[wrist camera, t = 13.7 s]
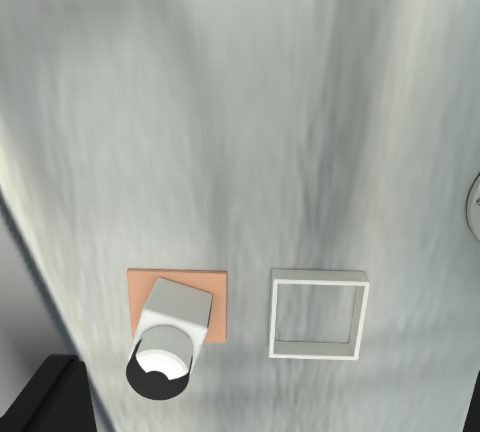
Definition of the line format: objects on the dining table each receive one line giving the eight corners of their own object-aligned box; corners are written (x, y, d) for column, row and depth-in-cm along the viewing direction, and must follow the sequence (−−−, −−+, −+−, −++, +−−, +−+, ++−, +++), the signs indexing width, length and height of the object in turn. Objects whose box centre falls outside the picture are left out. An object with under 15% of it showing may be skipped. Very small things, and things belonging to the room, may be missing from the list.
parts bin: (363, 271, 44) (370, 282, 42) (352, 346, 48) (357, 360, 46) (272, 269, 44) (273, 279, 42) (267, 344, 48) (268, 357, 46)
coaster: (226, 271, 45) (226, 273, 44) (225, 339, 48) (225, 342, 47) (128, 268, 45) (126, 271, 44) (134, 336, 48) (132, 340, 47)
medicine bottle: (197, 338, 47) (181, 418, 36) (143, 322, 47) (110, 398, 35) (214, 293, 45) (203, 362, 34) (158, 275, 44) (127, 340, 33)
